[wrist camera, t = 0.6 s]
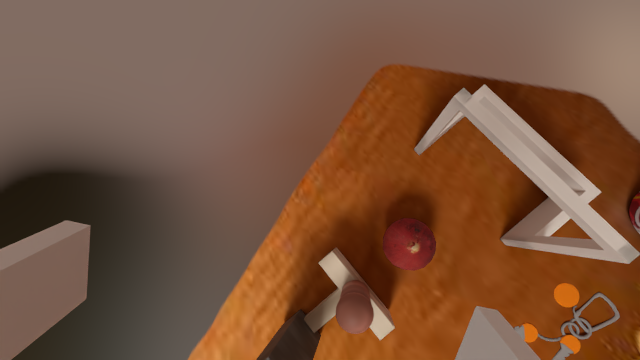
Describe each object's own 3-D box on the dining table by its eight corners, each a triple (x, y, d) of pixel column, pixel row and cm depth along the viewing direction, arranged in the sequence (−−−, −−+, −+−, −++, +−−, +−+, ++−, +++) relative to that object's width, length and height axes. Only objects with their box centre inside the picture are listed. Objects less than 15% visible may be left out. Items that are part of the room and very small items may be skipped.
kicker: (392, 307, 37) (413, 359, 23) (318, 372, 37) (293, 461, 23) (339, 243, 39) (329, 255, 25) (268, 304, 39) (218, 350, 25)
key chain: (580, 266, 36) (585, 267, 35) (626, 322, 34) (632, 324, 33) (489, 325, 36) (492, 327, 35) (531, 383, 35) (535, 387, 34)
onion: (392, 211, 39) (400, 208, 31) (435, 231, 38) (454, 233, 30) (373, 252, 38) (377, 259, 31) (416, 273, 37) (431, 287, 30)
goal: (562, 196, 37) (733, 174, 20) (505, 245, 37) (629, 263, 20) (465, 104, 40) (543, 18, 23) (413, 149, 40) (453, 96, 23)
